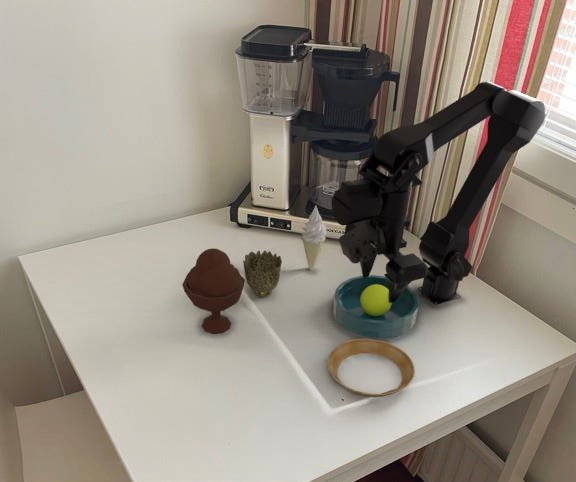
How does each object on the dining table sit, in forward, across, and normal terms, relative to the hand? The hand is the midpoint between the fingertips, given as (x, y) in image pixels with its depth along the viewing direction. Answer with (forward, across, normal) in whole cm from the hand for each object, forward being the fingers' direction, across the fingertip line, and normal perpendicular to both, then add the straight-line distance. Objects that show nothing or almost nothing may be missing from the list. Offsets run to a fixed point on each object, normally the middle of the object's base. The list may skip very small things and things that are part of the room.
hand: (378, 289), depth 114 cm
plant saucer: (+6, +15, -10) cm, 19 cm away
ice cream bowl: (+6, -9, -29) cm, 31 cm away
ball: (+6, 0, 0) cm, 6 cm away
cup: (+6, -15, -17) cm, 24 cm away
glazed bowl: (+6, 0, 0) cm, 6 cm away
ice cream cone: (+6, -19, -4) cm, 20 cm away
